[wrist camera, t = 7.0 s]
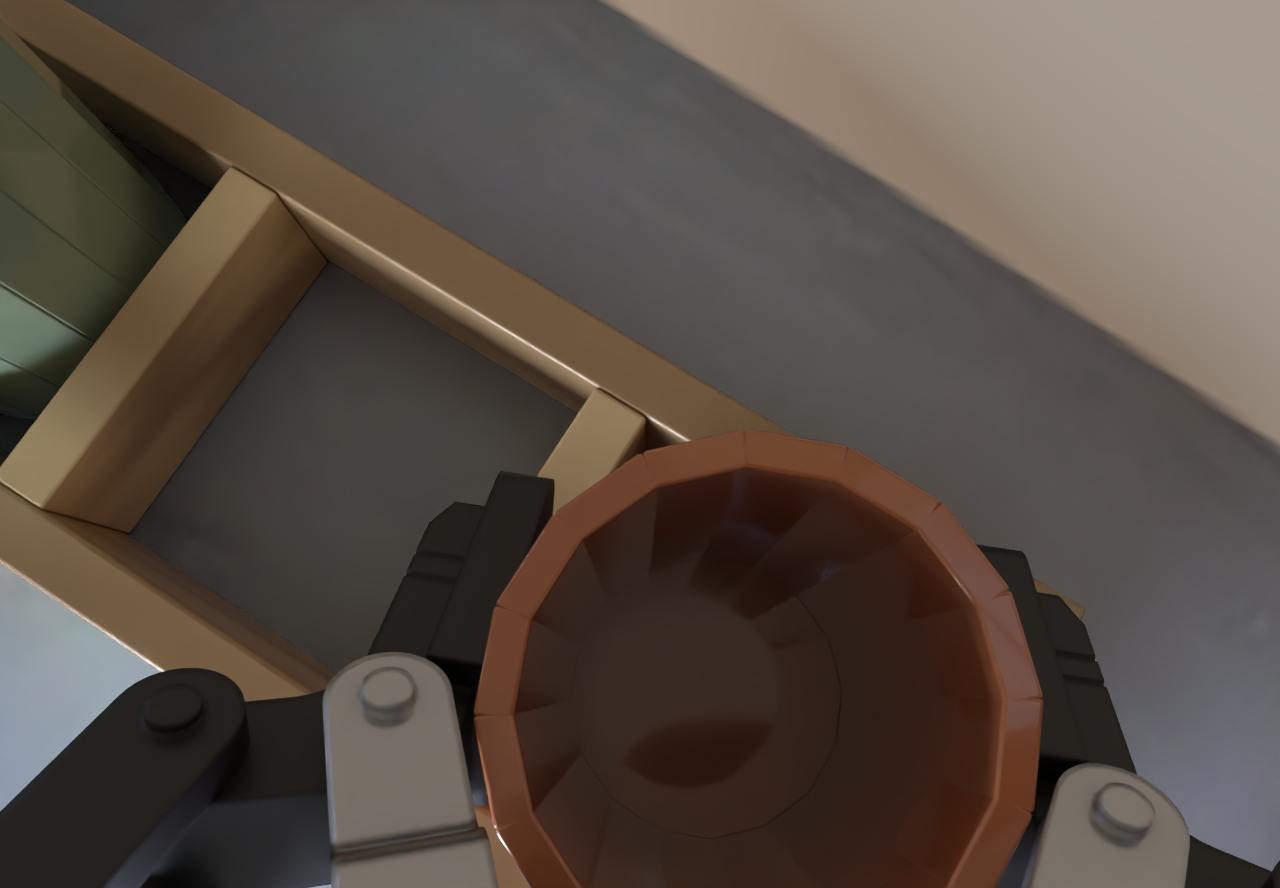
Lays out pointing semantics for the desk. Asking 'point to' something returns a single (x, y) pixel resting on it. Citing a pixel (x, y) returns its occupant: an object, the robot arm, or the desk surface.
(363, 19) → the desk surface
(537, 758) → the brown cylindrical cup
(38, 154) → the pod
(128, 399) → the pod rack
